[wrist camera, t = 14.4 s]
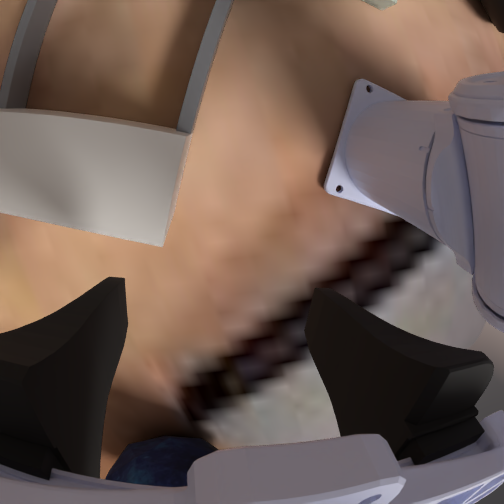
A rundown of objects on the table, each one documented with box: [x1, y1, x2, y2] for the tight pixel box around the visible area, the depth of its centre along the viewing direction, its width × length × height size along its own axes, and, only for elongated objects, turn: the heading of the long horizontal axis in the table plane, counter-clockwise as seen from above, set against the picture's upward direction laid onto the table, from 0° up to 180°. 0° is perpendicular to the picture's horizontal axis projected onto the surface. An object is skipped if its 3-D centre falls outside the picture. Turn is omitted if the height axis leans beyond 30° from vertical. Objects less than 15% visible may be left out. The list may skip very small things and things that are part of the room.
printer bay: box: [0, 0, 234, 247], centre depth 13 cm, size 13×16×6 cm
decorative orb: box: [105, 436, 218, 487], centre depth 23 cm, size 14×15×15 cm
